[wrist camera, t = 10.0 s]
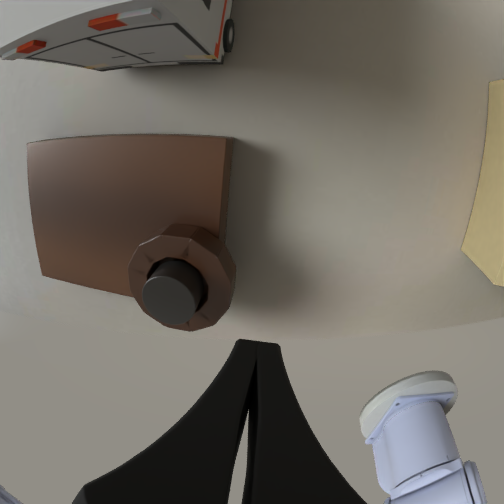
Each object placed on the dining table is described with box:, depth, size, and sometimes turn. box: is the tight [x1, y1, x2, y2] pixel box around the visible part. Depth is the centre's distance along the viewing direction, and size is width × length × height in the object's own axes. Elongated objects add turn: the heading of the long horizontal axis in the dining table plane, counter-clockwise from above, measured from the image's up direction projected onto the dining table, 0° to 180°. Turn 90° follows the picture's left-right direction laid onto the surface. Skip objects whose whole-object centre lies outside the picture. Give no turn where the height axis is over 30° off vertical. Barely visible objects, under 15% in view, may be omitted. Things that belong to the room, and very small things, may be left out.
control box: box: [27, 134, 236, 332], centre depth 16 cm, size 10×15×4 cm
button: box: [142, 261, 204, 325], centre depth 14 cm, size 3×3×2 cm
